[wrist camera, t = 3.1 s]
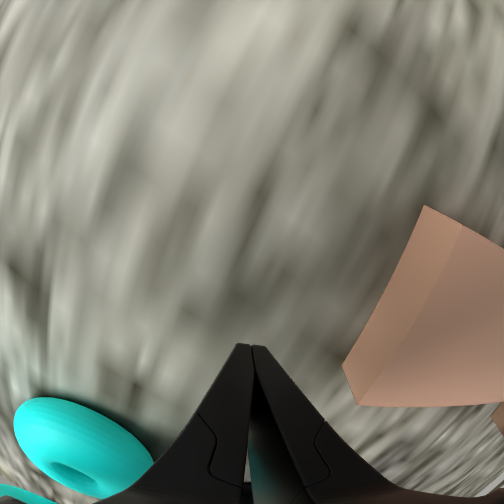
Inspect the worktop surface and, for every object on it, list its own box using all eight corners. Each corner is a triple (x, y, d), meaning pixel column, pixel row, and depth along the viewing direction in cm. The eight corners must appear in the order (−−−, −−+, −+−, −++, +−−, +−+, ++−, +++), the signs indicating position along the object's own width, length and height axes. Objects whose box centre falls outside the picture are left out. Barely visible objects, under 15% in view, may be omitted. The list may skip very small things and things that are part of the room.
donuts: (-55, 494, 5) (36, 551, 4) (1, 390, 14) (97, 379, 13) (58, 563, 9) (175, 594, 8) (83, 470, 18) (184, 471, 17)
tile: (339, 359, 14) (357, 405, 11) (418, 201, 11) (462, 224, 8) (497, 374, 16) (517, 399, 13) (552, 282, 13) (578, 301, 11)
